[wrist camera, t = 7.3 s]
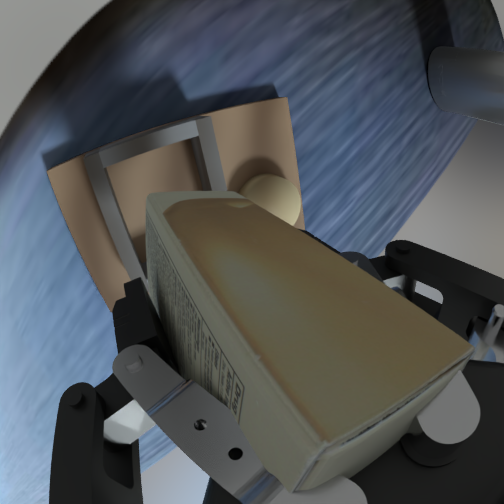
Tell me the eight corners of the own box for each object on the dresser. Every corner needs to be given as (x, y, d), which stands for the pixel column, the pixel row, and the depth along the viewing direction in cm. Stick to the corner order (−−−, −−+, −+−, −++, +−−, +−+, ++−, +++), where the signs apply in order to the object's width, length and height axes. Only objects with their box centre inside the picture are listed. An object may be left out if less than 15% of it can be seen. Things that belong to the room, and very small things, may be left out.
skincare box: (227, 299, 17) (374, 488, 7) (148, 311, 15) (254, 550, 5) (237, 182, 14) (489, 344, 4) (143, 185, 12) (325, 466, 3)
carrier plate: (279, 97, 22) (305, 97, 19) (297, 227, 28) (321, 243, 25) (49, 168, 17) (38, 178, 14) (110, 304, 23) (113, 331, 20)
